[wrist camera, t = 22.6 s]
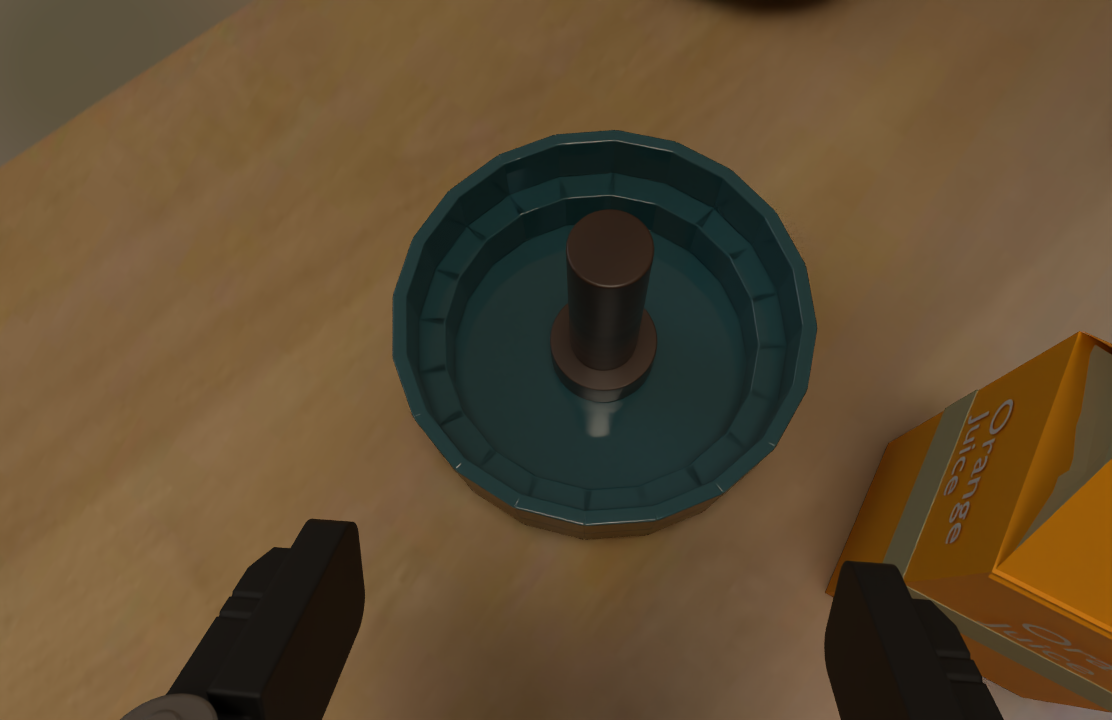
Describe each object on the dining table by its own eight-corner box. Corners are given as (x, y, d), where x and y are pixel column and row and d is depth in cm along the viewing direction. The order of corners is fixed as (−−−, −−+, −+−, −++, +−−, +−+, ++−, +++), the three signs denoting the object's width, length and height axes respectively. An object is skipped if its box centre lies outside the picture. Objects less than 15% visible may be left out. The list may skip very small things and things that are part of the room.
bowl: (841, 303, 38) (886, 247, 32) (665, 617, 34) (682, 616, 28) (544, 146, 41) (538, 71, 36) (349, 413, 37) (307, 376, 31)
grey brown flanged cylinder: (672, 338, 37) (707, 226, 26) (619, 421, 36) (634, 339, 25) (586, 289, 38) (587, 162, 27) (532, 368, 37) (511, 268, 26)
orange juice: (1022, 701, 32) (1652, 814, 13) (821, 594, 34) (1128, 558, 15) (1079, 531, 34) (1694, 419, 15) (888, 438, 36) (1230, 231, 17)
